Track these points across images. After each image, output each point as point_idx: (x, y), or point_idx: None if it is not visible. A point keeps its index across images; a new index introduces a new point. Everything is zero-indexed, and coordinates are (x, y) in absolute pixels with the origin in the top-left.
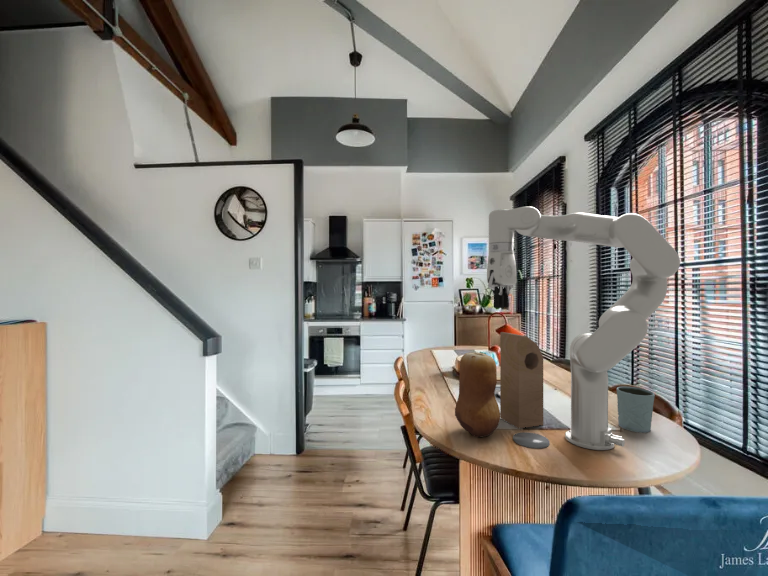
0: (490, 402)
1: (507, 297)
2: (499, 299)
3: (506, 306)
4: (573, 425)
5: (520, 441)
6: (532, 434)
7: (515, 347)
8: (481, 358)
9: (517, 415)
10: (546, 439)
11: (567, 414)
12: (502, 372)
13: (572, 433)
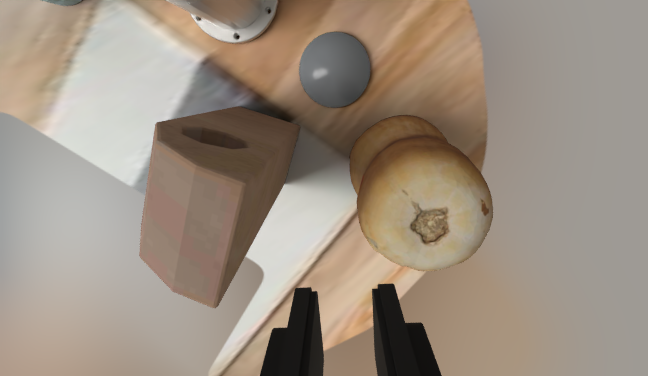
0: (415, 132)
1: (301, 360)
2: (427, 362)
3: (315, 295)
4: (254, 5)
5: (363, 76)
6: (311, 83)
7: (257, 185)
8: (470, 182)
9: (296, 132)
10: (309, 49)
11: (129, 113)
12: (264, 216)
13: (257, 14)
